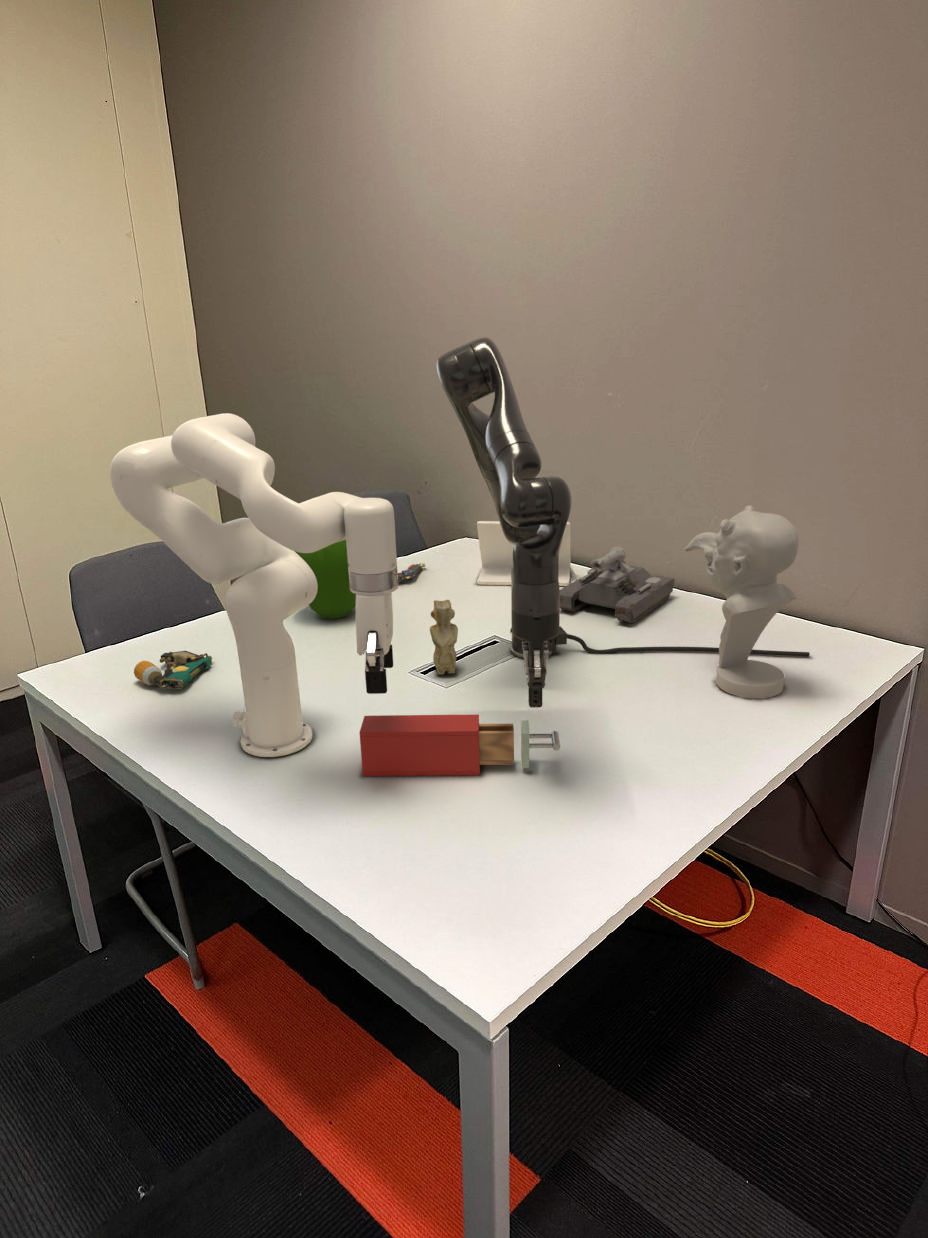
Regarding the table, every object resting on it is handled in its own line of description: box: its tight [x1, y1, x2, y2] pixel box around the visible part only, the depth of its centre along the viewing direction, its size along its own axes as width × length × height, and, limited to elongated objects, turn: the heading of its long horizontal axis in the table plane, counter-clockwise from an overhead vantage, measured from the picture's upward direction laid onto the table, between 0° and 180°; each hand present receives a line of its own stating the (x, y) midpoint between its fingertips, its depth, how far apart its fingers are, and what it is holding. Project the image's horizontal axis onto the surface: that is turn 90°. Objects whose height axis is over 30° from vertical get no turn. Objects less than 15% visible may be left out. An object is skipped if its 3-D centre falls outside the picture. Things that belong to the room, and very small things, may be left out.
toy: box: [559, 546, 676, 624], centre depth 212 cm, size 25×20×15 cm
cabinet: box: [359, 713, 481, 777], centre depth 142 cm, size 19×6×8 cm, turn 88°
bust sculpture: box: [684, 505, 799, 699], centre depth 167 cm, size 16×24×35 cm
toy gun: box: [398, 562, 426, 583], centre depth 240 cm, size 3×19×10 cm
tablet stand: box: [476, 520, 572, 587], centre depth 236 cm, size 18×25×17 cm
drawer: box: [479, 719, 561, 769], centre depth 141 cm, size 23×5×6 cm, turn 88°
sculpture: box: [429, 599, 459, 675], centre depth 177 cm, size 6×7×15 cm
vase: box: [295, 540, 356, 620], centre depth 209 cm, size 20×20×24 cm
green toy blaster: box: [133, 650, 213, 690], centre depth 180 cm, size 4×17×15 cm
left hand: (380, 679), depth 138 cm, fingers open, 9 cm apart
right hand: (535, 705), depth 139 cm, fingers closed
